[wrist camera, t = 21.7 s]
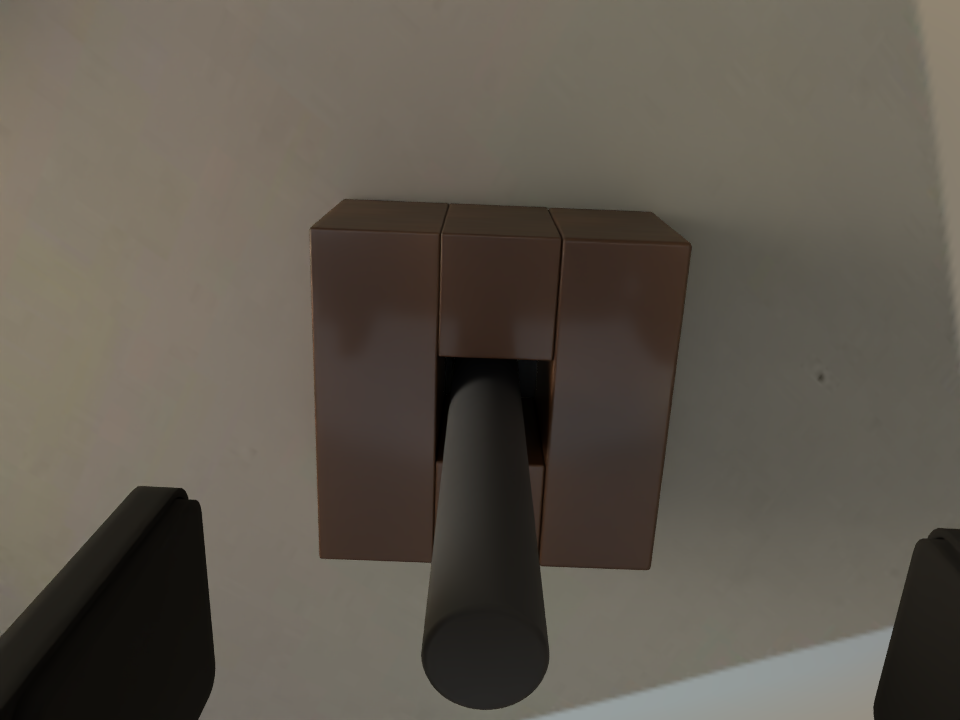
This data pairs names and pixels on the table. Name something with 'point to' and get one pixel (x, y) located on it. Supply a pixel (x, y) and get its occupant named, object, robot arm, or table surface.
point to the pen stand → (497, 335)
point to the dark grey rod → (485, 548)
